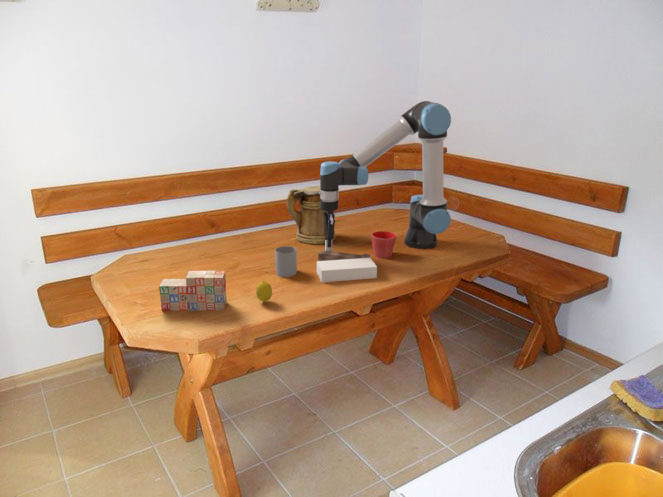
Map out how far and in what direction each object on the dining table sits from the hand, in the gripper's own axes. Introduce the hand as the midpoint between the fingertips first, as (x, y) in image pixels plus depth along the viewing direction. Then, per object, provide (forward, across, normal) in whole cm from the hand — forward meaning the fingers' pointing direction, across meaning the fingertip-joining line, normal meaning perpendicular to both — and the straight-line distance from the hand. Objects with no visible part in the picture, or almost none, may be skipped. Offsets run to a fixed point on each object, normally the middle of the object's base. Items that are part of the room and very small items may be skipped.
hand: (328, 253), depth 228 cm
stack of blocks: (+3, +37, -54) cm, 66 cm away
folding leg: (+2, +8, +5) cm, 10 cm away
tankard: (+3, -26, -3) cm, 27 cm away
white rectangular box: (+3, +20, +3) cm, 20 cm away
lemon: (+3, +38, -31) cm, 49 cm away
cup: (+3, +13, -20) cm, 24 cm away
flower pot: (+3, 0, +24) cm, 24 cm away
